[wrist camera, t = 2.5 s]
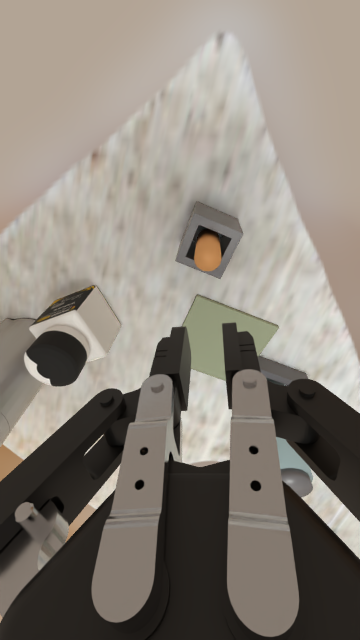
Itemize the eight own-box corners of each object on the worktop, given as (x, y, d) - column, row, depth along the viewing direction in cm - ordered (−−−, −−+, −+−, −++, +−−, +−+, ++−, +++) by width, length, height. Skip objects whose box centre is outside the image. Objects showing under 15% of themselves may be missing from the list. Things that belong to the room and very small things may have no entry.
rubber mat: (167, 358, 43) (166, 360, 43) (197, 294, 37) (197, 296, 36) (237, 382, 44) (237, 385, 44) (278, 325, 38) (278, 327, 38)
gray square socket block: (180, 243, 33) (175, 260, 28) (196, 201, 31) (194, 212, 26) (218, 258, 34) (220, 279, 29) (237, 219, 31) (243, 233, 26)
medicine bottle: (96, 283, 37) (54, 336, 27) (122, 325, 40) (93, 386, 30) (54, 300, 39) (0, 354, 29) (82, 338, 43) (43, 399, 32)
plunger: (193, 246, 30) (190, 265, 25) (202, 225, 28) (200, 241, 24) (213, 254, 30) (214, 275, 25) (223, 234, 29) (226, 251, 24)
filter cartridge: (244, 387, 45) (259, 492, 31) (260, 366, 42) (283, 470, 29) (271, 397, 46) (298, 504, 32) (289, 377, 43) (325, 484, 29)
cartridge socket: (229, 391, 46) (230, 405, 43) (255, 354, 41) (258, 368, 39) (275, 407, 47) (279, 422, 44) (305, 373, 42) (311, 387, 40)
